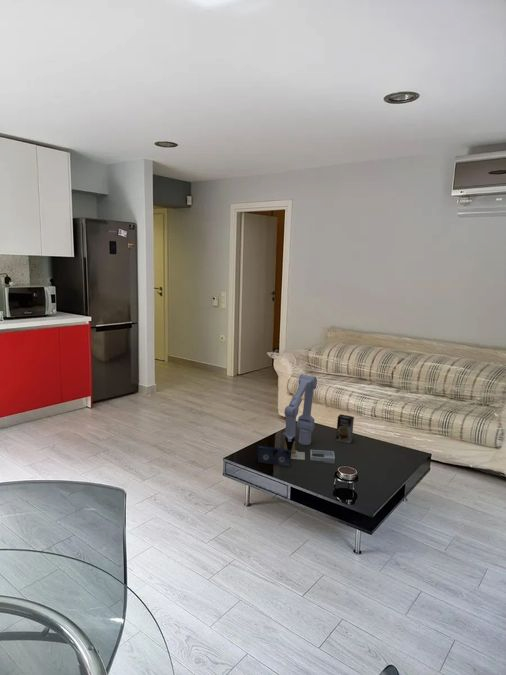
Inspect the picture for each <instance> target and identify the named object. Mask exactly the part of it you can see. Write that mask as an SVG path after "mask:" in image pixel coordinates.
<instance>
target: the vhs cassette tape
mask: <svg viewBox="0 0 506 675" xmlns="http://www.w3.org/2000/svg"><path fill="white" fill-rule="evenodd" d="M291 461H292V459H291V450H287V449H284V448H279V447H271V446H264V445H258V448H257V463H261V464H267V465H275V466H283V467H288V468H290V467H291V464H292V462H291Z"/></svg>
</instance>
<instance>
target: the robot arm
mask: <svg viewBox="0 0 506 675" xmlns="http://www.w3.org/2000/svg"><path fill="white" fill-rule="evenodd" d="M317 384H318V379H317V376H313V375H307V374H303V373H301V374H300V375H299V377H298V388H297V390H296V393H295V394H294V395H293V396H292V397H291V399H290V401H289V403H288V405H287V406H285V408H284V417H285V418H284V419H285V430H284V432H283V433H282V435H283V436H285V438H284V442H285V441H286V443H287V449H288V450H291V449H292V445H293V443H294V441H295V442H296V439H295V438H296V436H297V435H296V434H297V433H296V430H297V429H298V431H299V434H298V435H299V436H298V443H299V444H301V445H303V446H305V445H306V446H307V445H310V444H311V443H312V432H313V431H314V429H315V426H316V425H315V418H314V417H313V416H312V407H313V398H314V391H315V390H316V389H317ZM303 395H304V398H303V399H304V402H303V408H302V414H301V415H299V416H298V414H299V410H300V408H299V407H300V405H301V403H302V400H303V399H302V397H303ZM297 417H298V419H297ZM296 421H297V422H296ZM296 428H297V429H296Z"/></svg>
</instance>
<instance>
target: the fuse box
mask: <svg viewBox="0 0 506 675" xmlns="http://www.w3.org/2000/svg"><path fill="white" fill-rule="evenodd" d="M305 454H306V453H305V451H298V450H297V449H295V454H291V460H303V461H305V460H306V458H305V457H306V455H305Z"/></svg>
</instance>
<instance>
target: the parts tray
mask: <svg viewBox="0 0 506 675" xmlns="http://www.w3.org/2000/svg"><path fill="white" fill-rule="evenodd" d="M309 451H310V452H309V453H310V457H309V458H310V461H318V462H323V463H324V464H333V465H334V464H336V463H335V460H336V457H335V451H334V450H331V451H330V450H323V449H322V450H319V449H310V450H309ZM315 454H316V455H323V456H315Z"/></svg>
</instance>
